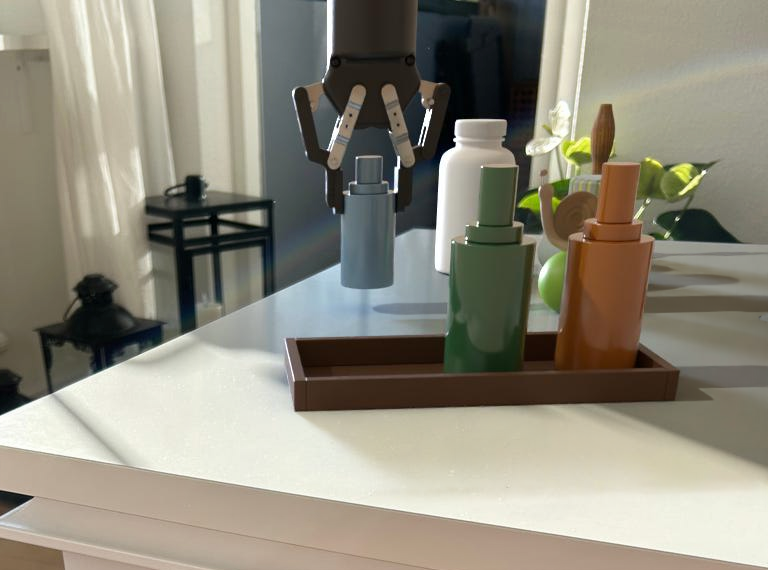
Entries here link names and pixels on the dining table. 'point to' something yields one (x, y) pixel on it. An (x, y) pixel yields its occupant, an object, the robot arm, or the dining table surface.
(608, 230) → the amber bottle
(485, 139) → the pill bottle
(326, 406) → the tray
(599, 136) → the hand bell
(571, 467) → the dining table surface
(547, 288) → the snail figurine
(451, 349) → the green bottle
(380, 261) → the blue bottle
